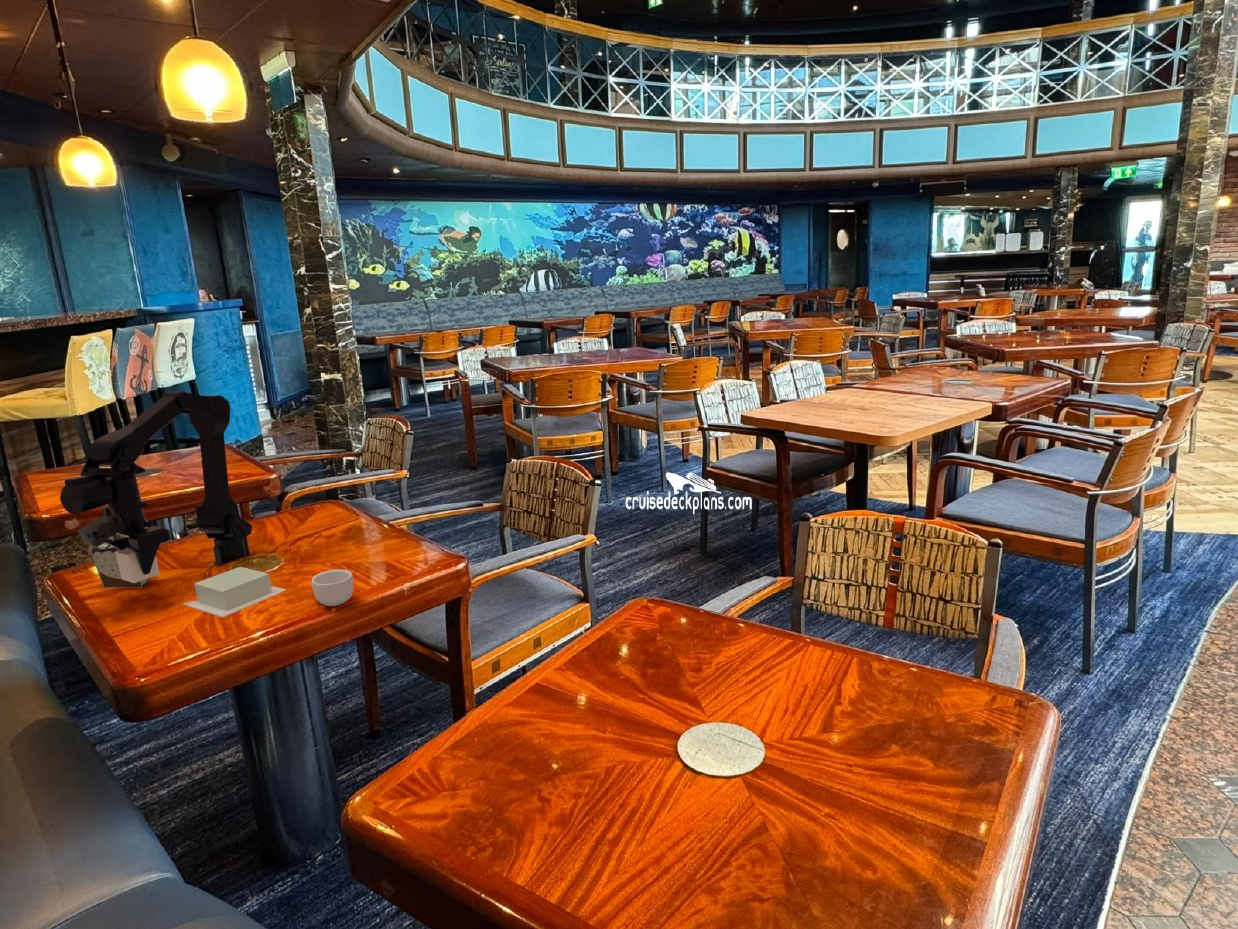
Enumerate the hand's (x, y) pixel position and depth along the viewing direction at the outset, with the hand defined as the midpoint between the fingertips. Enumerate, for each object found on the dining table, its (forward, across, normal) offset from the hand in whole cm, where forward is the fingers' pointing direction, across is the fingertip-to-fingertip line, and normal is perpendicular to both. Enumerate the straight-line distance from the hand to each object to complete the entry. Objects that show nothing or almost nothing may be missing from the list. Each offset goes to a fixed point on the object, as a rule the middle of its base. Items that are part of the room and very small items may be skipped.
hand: (139, 572), depth 152 cm
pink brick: (+1, 0, 0) cm, 1 cm away
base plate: (+7, +17, +9) cm, 21 cm away
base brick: (+6, +17, +9) cm, 20 cm away
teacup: (+7, +36, +18) cm, 41 cm away
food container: (+7, -16, +5) cm, 18 cm away
